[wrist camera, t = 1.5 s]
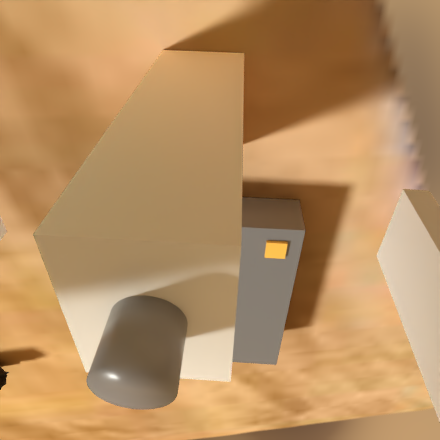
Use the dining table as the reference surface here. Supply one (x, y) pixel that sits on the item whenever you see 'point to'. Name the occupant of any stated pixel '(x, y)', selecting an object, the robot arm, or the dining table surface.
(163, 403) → the cream long rectangular block
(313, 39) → the dining table surface
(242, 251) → the socket
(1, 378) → the artificial flower
